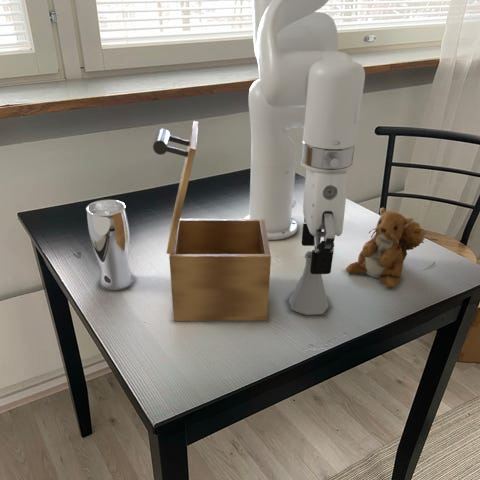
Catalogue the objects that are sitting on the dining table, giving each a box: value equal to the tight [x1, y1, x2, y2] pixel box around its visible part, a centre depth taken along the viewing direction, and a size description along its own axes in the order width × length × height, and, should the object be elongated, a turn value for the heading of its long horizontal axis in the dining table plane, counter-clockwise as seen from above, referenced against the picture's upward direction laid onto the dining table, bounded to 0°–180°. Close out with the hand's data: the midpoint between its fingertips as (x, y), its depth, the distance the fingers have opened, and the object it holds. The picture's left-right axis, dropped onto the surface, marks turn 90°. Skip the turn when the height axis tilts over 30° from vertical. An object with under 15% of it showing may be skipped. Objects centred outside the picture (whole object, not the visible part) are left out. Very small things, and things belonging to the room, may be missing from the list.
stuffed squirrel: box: [345, 207, 426, 289], centre depth 95 cm, size 10×14×13 cm
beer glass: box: [85, 199, 134, 291], centre depth 89 cm, size 7×7×15 cm
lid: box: [152, 120, 200, 255], centre depth 77 cm, size 17×14×6 cm
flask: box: [288, 250, 330, 316], centre depth 86 cm, size 7×7×10 cm
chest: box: [168, 218, 272, 322], centre depth 86 cm, size 16×14×12 cm
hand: (315, 258), depth 83 cm, fingers open, 9 cm apart
